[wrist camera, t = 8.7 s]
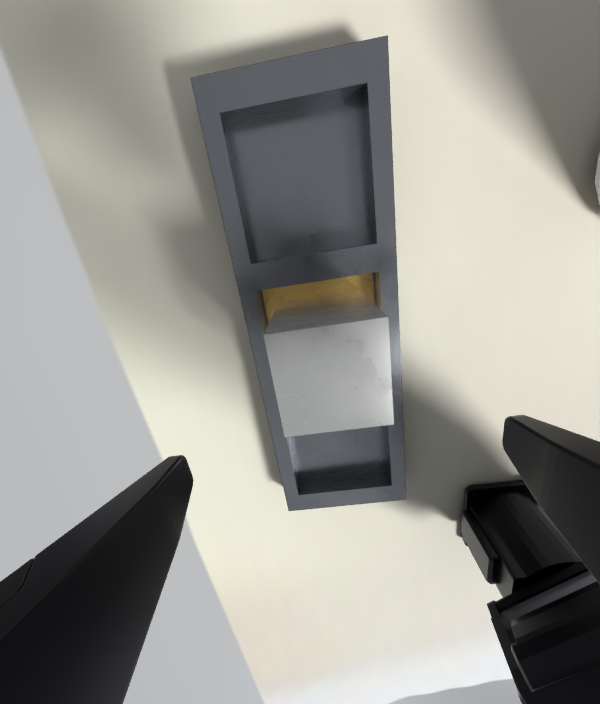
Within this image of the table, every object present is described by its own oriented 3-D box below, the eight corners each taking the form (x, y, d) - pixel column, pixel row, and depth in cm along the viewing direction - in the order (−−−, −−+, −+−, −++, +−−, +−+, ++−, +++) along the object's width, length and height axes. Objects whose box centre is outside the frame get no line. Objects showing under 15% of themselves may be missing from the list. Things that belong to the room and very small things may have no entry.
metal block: (358, 289, 18) (388, 316, 12) (365, 363, 20) (394, 424, 13) (278, 301, 18) (263, 334, 12) (291, 373, 20) (284, 437, 14)
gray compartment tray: (377, 61, 15) (387, 35, 13) (398, 479, 24) (406, 499, 22) (204, 97, 15) (190, 77, 14) (290, 490, 25) (288, 511, 23)
